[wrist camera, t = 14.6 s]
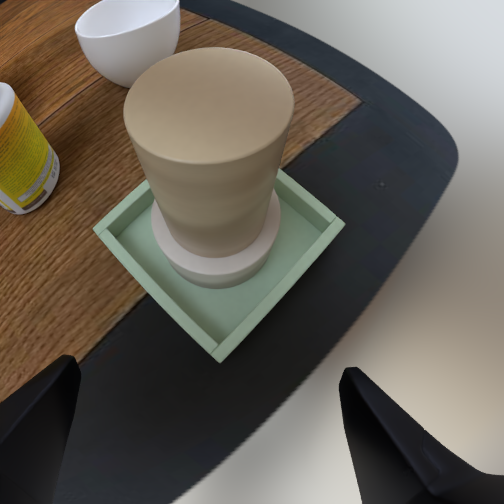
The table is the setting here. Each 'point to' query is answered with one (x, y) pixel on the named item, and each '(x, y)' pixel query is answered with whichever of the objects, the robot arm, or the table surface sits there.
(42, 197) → the supplement bottle
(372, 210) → the table surface
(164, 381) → the table surface
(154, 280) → the mint green tray
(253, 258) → the tan cylindrical piece
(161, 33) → the cup
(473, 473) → the robot arm
